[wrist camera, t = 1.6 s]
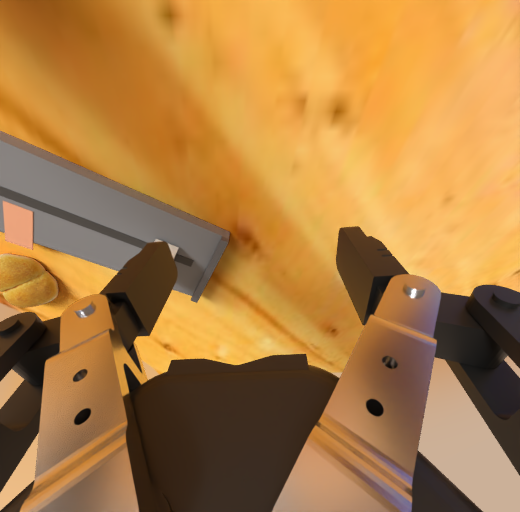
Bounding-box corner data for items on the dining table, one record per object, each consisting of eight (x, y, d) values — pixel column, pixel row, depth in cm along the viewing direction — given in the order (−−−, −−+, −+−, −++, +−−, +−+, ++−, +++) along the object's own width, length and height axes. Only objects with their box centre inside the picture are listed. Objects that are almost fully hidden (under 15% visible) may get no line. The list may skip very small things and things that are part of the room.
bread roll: (25, 244, 33) (-1, 260, 29) (71, 289, 37) (54, 307, 34) (-21, 259, 34) (-51, 277, 30) (30, 301, 39) (9, 320, 35)
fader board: (-41, 212, 30) (-68, 222, 27) (-60, 104, 23) (-98, 104, 21) (198, 294, 39) (194, 307, 36) (230, 232, 32) (228, 242, 30)
